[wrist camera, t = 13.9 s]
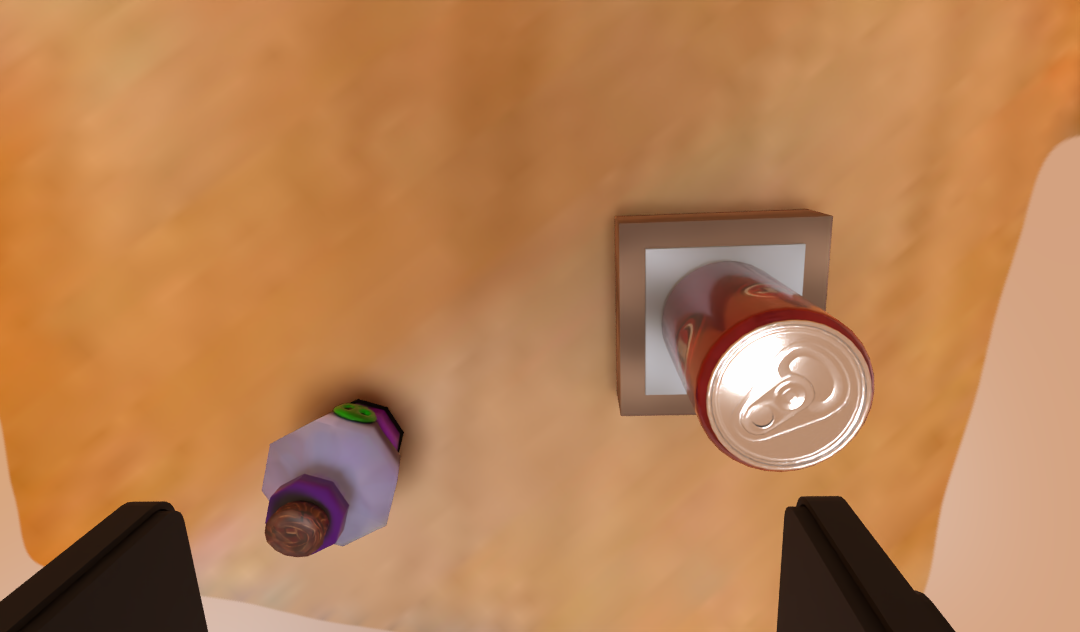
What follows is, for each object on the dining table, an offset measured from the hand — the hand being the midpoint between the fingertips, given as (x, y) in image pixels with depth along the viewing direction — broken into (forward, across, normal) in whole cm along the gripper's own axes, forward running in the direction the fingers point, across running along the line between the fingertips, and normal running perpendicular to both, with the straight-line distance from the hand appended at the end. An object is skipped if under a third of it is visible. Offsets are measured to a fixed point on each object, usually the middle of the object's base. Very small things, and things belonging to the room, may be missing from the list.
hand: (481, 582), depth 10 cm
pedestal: (+32, -10, +4) cm, 34 cm away
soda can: (+28, -10, +4) cm, 30 cm away
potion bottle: (+32, +14, +13) cm, 38 cm away
